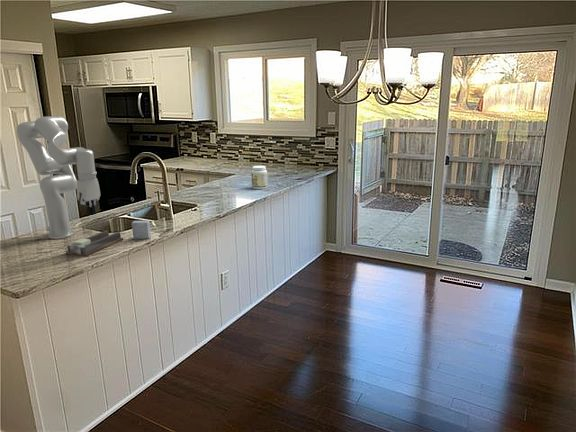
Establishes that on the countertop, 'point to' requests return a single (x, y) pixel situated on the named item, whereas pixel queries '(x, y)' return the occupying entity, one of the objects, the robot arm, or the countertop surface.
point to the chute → (95, 244)
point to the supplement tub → (259, 177)
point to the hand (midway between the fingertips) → (91, 213)
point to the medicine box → (141, 230)
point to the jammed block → (82, 242)
